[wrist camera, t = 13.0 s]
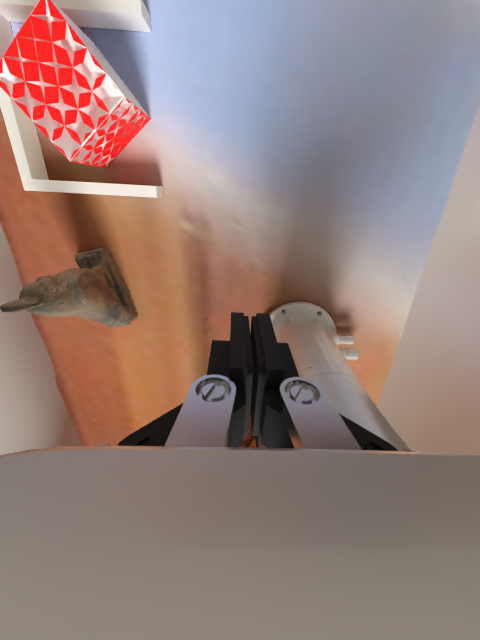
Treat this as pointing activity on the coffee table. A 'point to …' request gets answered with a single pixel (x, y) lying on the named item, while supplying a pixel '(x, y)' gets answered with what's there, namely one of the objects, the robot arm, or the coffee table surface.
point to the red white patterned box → (69, 88)
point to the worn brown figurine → (81, 292)
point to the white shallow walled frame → (16, 5)
